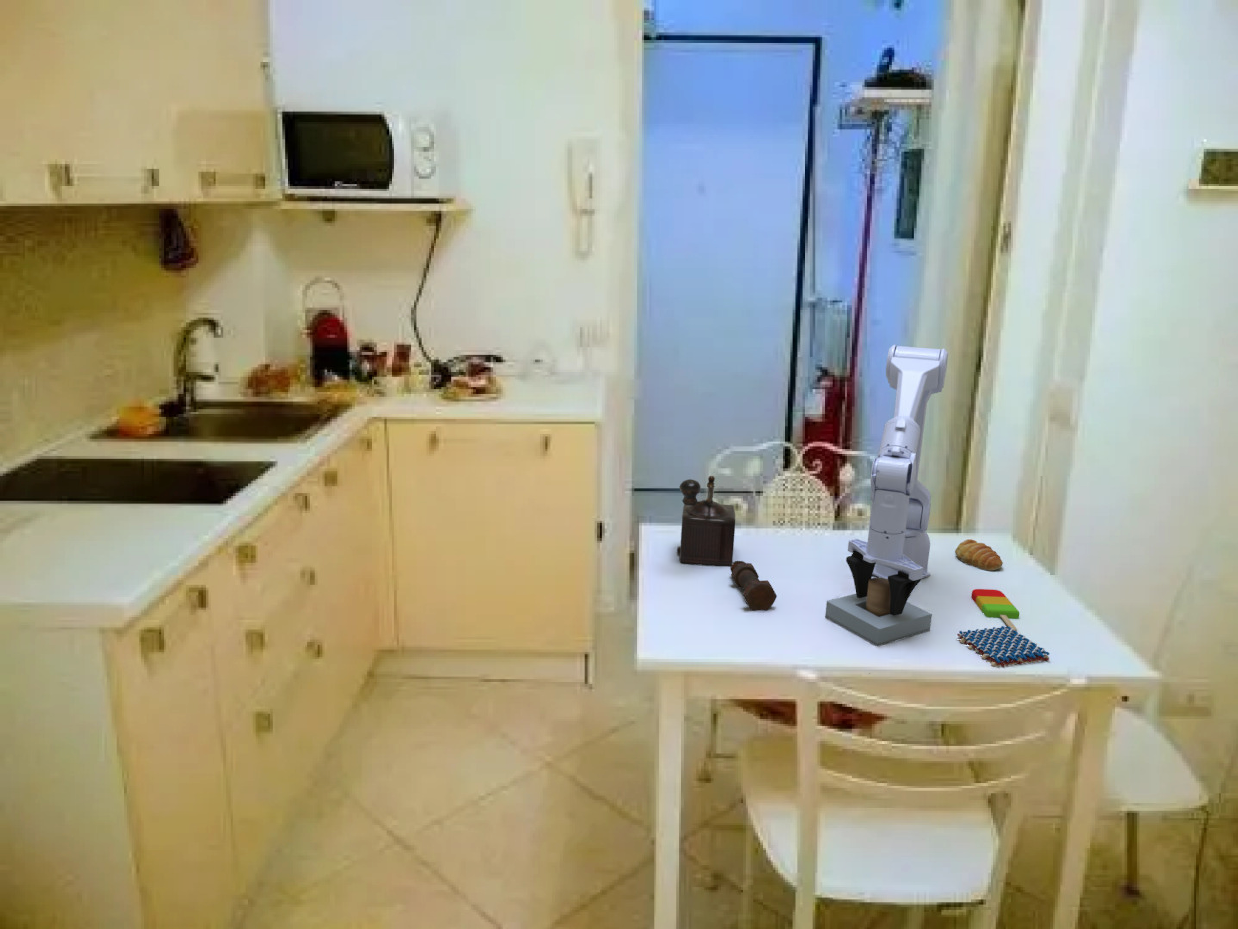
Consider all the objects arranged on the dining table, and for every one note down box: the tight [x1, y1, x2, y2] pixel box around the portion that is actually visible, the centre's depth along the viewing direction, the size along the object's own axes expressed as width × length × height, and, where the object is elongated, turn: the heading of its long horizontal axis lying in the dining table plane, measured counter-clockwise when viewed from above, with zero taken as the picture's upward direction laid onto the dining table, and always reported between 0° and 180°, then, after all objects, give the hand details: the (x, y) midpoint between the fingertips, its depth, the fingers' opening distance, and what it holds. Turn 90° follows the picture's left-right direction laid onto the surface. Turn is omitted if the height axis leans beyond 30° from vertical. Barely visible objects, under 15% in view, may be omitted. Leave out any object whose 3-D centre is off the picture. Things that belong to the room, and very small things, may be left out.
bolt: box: [730, 560, 778, 612], centre depth 163 cm, size 6×5×15 cm
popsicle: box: [970, 588, 1020, 632], centre depth 157 cm, size 6×15×2 cm, turn 177°
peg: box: [866, 577, 891, 617], centre depth 151 cm, size 4×4×7 cm
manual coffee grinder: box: [676, 475, 736, 567], centre depth 176 cm, size 16×11×18 cm
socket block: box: [824, 593, 933, 647], centre depth 152 cm, size 12×12×3 cm
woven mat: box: [956, 625, 1051, 668], centre depth 144 cm, size 10×11×2 cm
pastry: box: [954, 538, 1004, 572], centre depth 180 cm, size 9×7×4 cm
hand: (878, 605), depth 151 cm, fingers open, 7 cm apart
